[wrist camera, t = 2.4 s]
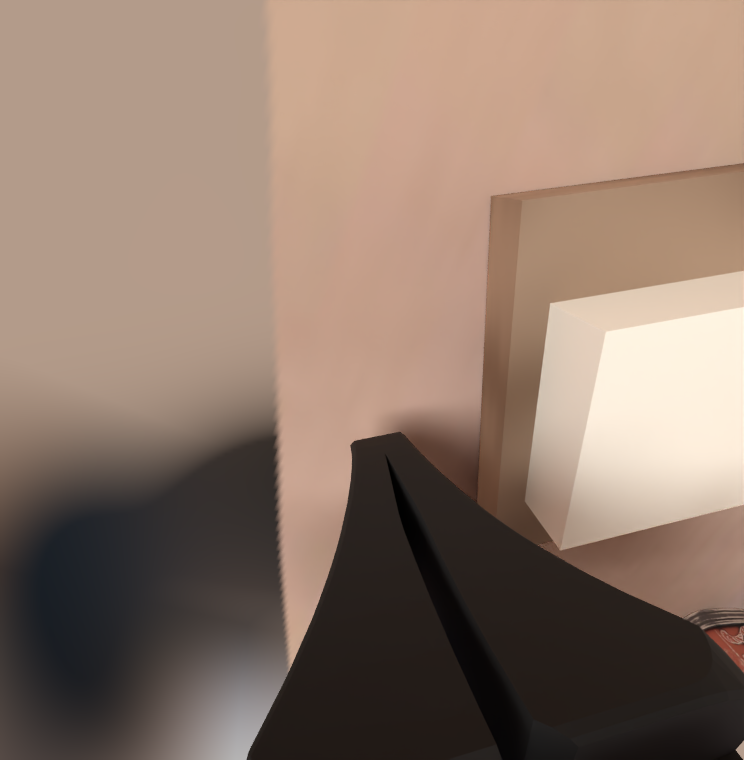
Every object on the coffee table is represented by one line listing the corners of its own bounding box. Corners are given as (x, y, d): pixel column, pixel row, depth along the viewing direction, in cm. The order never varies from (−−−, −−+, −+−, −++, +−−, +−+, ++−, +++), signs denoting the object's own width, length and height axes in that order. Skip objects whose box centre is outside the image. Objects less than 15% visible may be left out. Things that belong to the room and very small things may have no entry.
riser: (694, 472, 17) (729, 497, 16) (476, 523, 16) (493, 555, 14) (824, 153, 11) (895, 151, 10) (491, 196, 10) (522, 200, 9)
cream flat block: (704, 459, 14) (762, 499, 12) (524, 501, 13) (560, 550, 12) (785, 263, 11) (880, 281, 9) (550, 303, 10) (606, 331, 8)
